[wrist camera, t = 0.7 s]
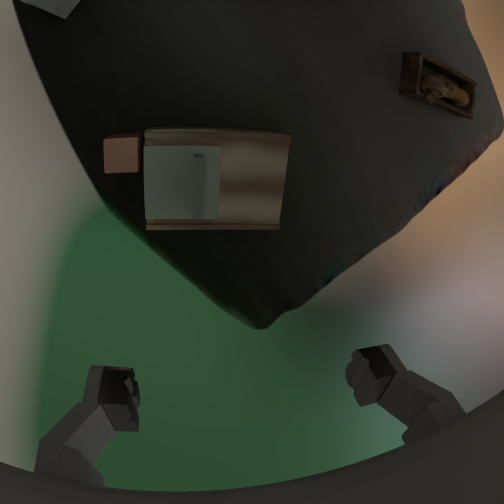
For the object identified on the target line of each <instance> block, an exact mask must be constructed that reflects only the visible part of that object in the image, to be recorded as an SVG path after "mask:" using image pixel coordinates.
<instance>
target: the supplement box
mask: <svg viewBox="0 0 504 504" xmlns="http://www.w3.org/2000/svg"><path fill="white" fill-rule="evenodd" d="M21 1H23V2H24V3H28V4H31V5H33V6H36V7H38V8H41V9H43V10H45V11H47V12H50V13H52V14H54V15H56V16H59V17H61V18H64V19H66V18H67V16H68V15H69V14H70V13H71V11H72V10H73V9H74V8H75V7H76V5H77V4H78V3H79V2H80V1H81V0H21Z"/></svg>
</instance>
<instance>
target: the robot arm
mask: <svg viewBox="0 0 504 504" xmlns="http://www.w3.org/2000/svg"><path fill="white" fill-rule="evenodd" d="M351 357H352V359H353V360H352V361H351V362H350V363H349V364H348V365H347V368H346V380H347V383H348V385H349V386H350V387H352V388H353V389H355V390H354V394H353V395H354V397H355V398H356V401H357V402H358V404H359V406H360V407H361V406H365V405H369V404H373V403H377V402H378V404H379V405H380V406H381V407H383V408H384V409H385V410H386V411H388V412H389V413H390V414H392V415H393V416H394V417H396V418H397V419H398V420H400V421H401V422H402V423H403V424H405V425H406V426H407V427H409V428H408V429H407V430H406V431H405V432H404V433H403V435H402V439H403V441H404V443H405V445H403V446H400V447H398V448H396V449H393V450H391V451H388V452H385V453H383V454H380V455H377V456H375V457H372V458H369V459H366V460H363V461H360V462H357V463H355V464H351V465H348V466H345V467H341V468H338V469H334V470H331V471H327V472H323V473H320V474H315V475H311V476H307V477H303V478H298V479H294V480H289V481H283V482H278V483H272V484H266V485H260V486H252V487H245V488H236V489H226V490H212V491H190V492H160V491H139V490H127V489H115V488H107V487H104V477H103V476H102V475H101V473H100V472H99V471H97V470H96V469H95V467H94V466H93V464H94V462H95V461H96V459H97V458H98V457H99V455H100V454H101V452H102V451H103V450H104V448H105V447H106V445H107V444H108V443H109V441H110V440H111V438H112V437H113V436H114V434H115V433H116V431H133V432H138V428H139V415H138V412H137V410H136V409H137V408H138V407H139V406H140V393H139V386H138V383H137V381H136V380H134V377H135V373H134V370H133V368H127V367H111V366H96V365H92V366H91V367H90V369H89V373H88V378H87V382H86V387H85V391H84V396H83V401H82V402H78V403H77V404H76V405H75V406H74V407H73V408H72V409H71V410H70V411H69V412H68V413H67V414H66V415H65V416H64V417H63V418H62V419H61V420H60V421H59V422H58V423H57V424H56V425H55V426H54V427H53V428H52V429H51V430H50V431H49V432H48V433H47V434H46V435H45V436H44V437H43V438H42V439H41V440H40V441H39V446H38V452H37V457H36V463H35V469H34V473H33V472H30V471H26V470H23V469H20V468H17V467H14V466H11V465H8V464H5V463H2V462H0V504H504V390H503V391H501V392H500V393H498V394H497V395H495V396H494V397H492V398H491V399H489V400H488V401H486V402H485V403H483V404H481V405H480V406H478V407H477V408H475V409H473V410H472V411H470V412H468V413H467V414H466V413H465V411H464V410H463V408H462V407H461V405H460V404H459V402H458V401H457V400H456V398H455V397H454V395H453V394H452V393H451V392H449V391H448V390H445V389H444V388H442V387H440V386H438V385H436V384H435V383H433V382H431V381H429V380H427V379H425V378H424V377H422V376H420V375H418V374H416V373H414V372H413V371H411V370H409V371H407V369H406V368H405V366H404V365H403V364H402V362H401V360H400V359H399V357H398V356H397V355H396V353H395V352H394V350H393V349H392V347H391V346H390V345H389V344H383V345H378V346H373V347H368V348H363V349H358V350H355V351H354V352H353V354H352V356H351Z"/></svg>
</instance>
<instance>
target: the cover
mask: <svg viewBox="0 0 504 504" xmlns="http://www.w3.org/2000/svg"><path fill="white" fill-rule="evenodd" d="M222 148H223V146H221V145H145V146H144V196H145V219H218V211H219V194H220V178H221V163H222Z"/></svg>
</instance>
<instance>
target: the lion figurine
mask: <svg viewBox="0 0 504 504" xmlns="http://www.w3.org/2000/svg"><path fill="white" fill-rule="evenodd" d="M421 80H422V82H421V88H420V92H422V93H426V94H425V96H424V97H425V98H426V99H427V100H428V101H429V102H430V103H433V102H434V100H435V99H439V98H442V97H446V98H450V99H453V100H452V101H450V100H447V101H446V102H447V103H448V104H450V105H453V106H466V105H467V103H469V96H468V94H467V93H466V91H464V90H463V89H461V88H458V87H457V86H455V85H454V84H452V83H451V82H449V81H448V80H447V79H446V78H445V77H444V76H443V75H441V74H438V73H428V74H425V75H423V76H422V77H421Z"/></svg>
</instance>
